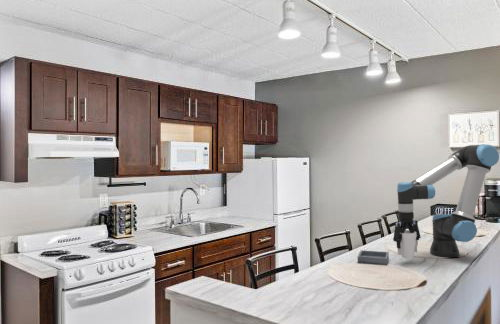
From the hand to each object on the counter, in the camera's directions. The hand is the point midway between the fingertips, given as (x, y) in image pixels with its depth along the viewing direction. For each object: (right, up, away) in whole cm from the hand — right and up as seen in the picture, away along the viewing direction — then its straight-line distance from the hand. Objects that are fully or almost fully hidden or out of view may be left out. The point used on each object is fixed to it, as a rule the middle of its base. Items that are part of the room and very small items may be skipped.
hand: (407, 253), depth 206 cm
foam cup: (0, -2, 0) cm, 2 cm away
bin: (-16, -5, +5) cm, 18 cm away
